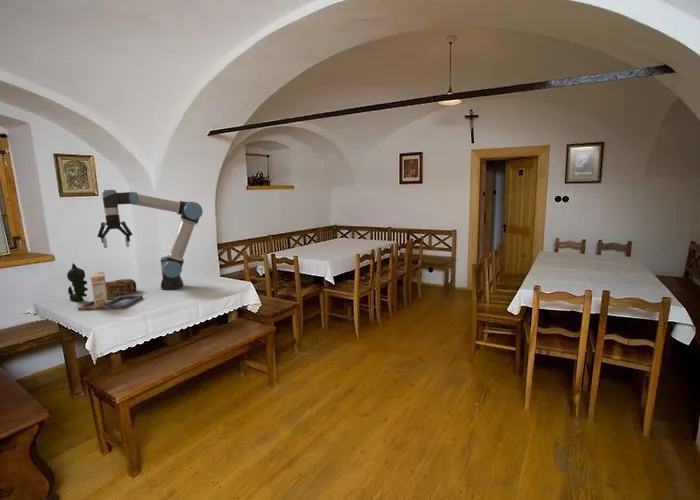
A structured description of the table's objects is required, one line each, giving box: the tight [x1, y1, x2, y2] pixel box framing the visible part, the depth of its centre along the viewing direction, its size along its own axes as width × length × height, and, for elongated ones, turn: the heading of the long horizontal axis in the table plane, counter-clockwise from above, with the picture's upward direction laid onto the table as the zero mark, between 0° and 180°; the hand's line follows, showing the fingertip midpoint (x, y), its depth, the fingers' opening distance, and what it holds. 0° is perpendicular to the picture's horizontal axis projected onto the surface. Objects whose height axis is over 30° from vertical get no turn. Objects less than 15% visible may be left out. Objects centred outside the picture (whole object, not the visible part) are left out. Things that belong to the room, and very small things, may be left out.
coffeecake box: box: [90, 271, 109, 307], centre depth 237 cm, size 15×7×20 cm, turn 32°
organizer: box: [77, 294, 144, 311], centre depth 238 cm, size 27×22×2 cm
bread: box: [105, 278, 138, 297], centre depth 262 cm, size 19×11×10 cm, turn 136°
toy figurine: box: [66, 262, 89, 303], centre depth 247 cm, size 9×19×25 cm, turn 59°
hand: (116, 247), depth 245 cm, fingers open, 13 cm apart
